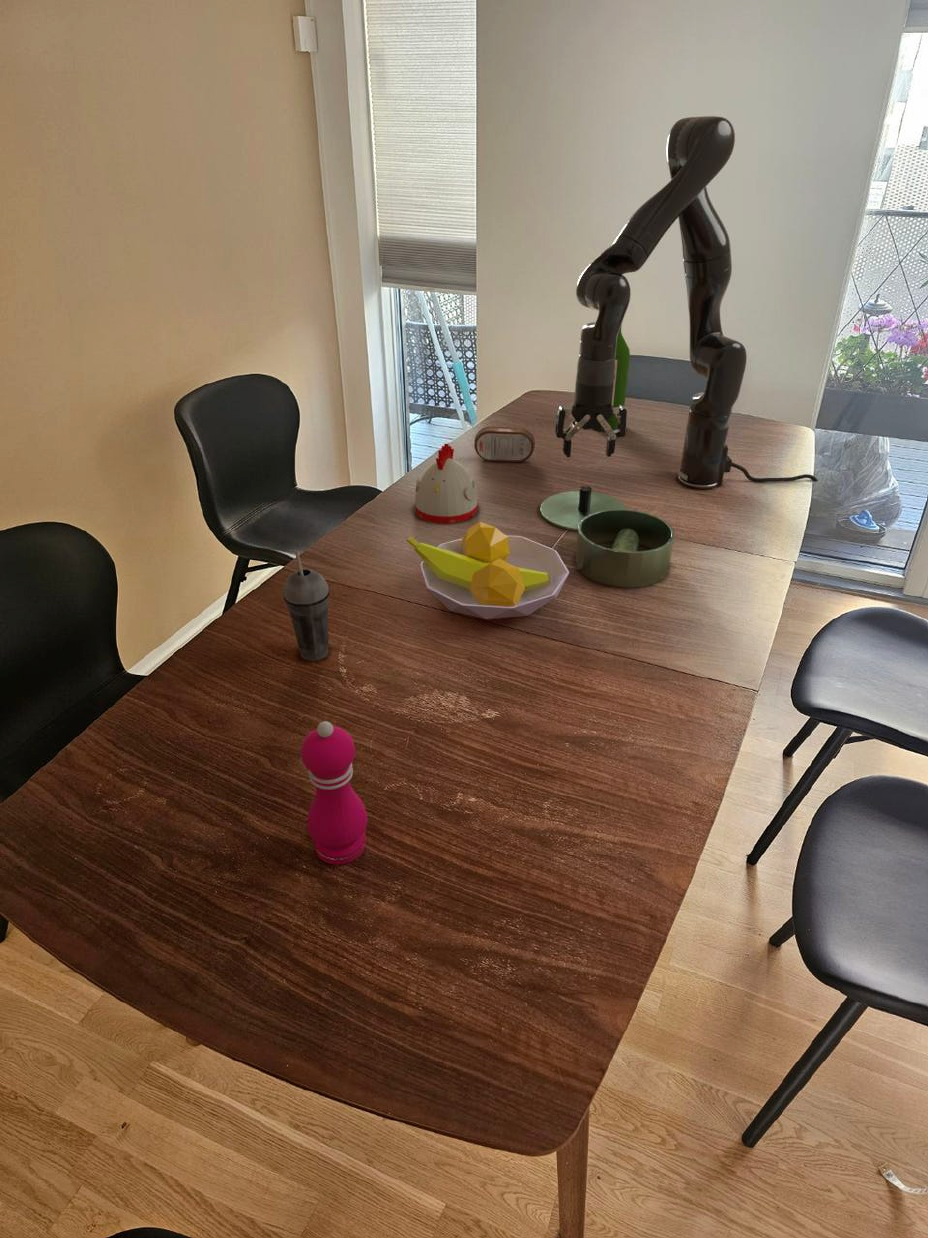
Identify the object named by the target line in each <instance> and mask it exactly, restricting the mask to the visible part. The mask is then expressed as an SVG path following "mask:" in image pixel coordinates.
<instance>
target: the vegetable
mask: <svg viewBox="0 0 928 1238" xmlns="http://www.w3.org/2000/svg"><path fill="white" fill-rule="evenodd" d="M612 542H613V543H612V545H611V547H610V549H613V550H618V551H628V552H637V551H639V546H640V544H639V538H638V535H637V533H636V532H635V531H634V530H632V529H623V530H621V531H620V532H619V533H618V534H617V536H616V538H615V540H614V541H612Z"/></svg>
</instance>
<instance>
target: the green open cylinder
mask: <svg viewBox="0 0 928 1238" xmlns="http://www.w3.org/2000/svg"><path fill="white" fill-rule="evenodd" d="M623 529H632V530H634V531H635V532H636V533H637V535H638V538H639V545H641V546H644V547H647V548H649V549H647V550H641V551H639V550H637V552H628V551H618V550H613V549H611V548H608V547H604V546H602V545H600V544H599V543H605V542H614V540H615V538H616V536H617V534H618V533H619V532H620V531H621V530H623ZM674 539H675V531H674V529H673V527H672V525H670V524H669V523H668V522H667V521H666V520H664V519H662V517H661V518H660V517H659V516H657V515H654V514H651V513H649V512H645V511H642V510H641V511H640V510H635V509H628V508H627V509H610V510H603V511H598V512H595V513H592V514H590V515H588V516H586V517H584V518H583V519H582V520H581V522H580V523H579V527H578V531H577V539H576V549H575V562H576V565H577V567H578V568H579V569H578V570H579V572H580V573H581V574H582V575H584V576H585V577H586V578H588V579H590V580H591V581H593V582H596V583H598V584H601V585H606V586H609V587H615V588H625V589H626V588H627V589H628V588H629V589H635V588H643V587H648V586H651V585H652V586H653V585H655V584H657V583H659V582H661V581H662V580H664V579H665V577H667V575H668V573H669V570H670V566H671V559H672V553H673V547H674V541H675V540H674Z"/></svg>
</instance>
